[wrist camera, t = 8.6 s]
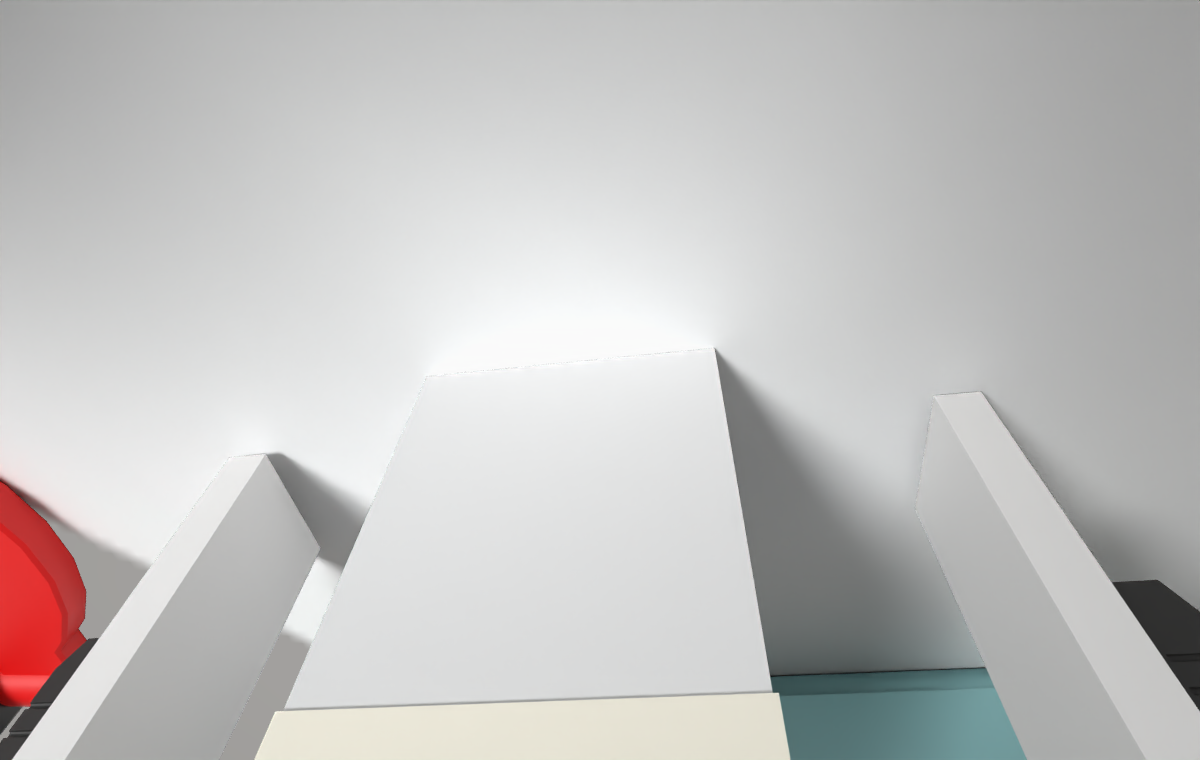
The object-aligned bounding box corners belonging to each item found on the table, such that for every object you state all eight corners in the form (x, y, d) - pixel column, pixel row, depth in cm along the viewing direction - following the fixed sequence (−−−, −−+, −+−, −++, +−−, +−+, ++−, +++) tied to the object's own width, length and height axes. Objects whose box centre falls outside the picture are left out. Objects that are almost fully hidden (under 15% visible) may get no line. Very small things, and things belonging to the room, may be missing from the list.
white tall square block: (423, 374, 12) (120, 1064, 5) (717, 344, 11) (848, 1086, 4) (492, 562, 15) (365, 1161, 8) (728, 548, 14) (817, 1183, 7)
